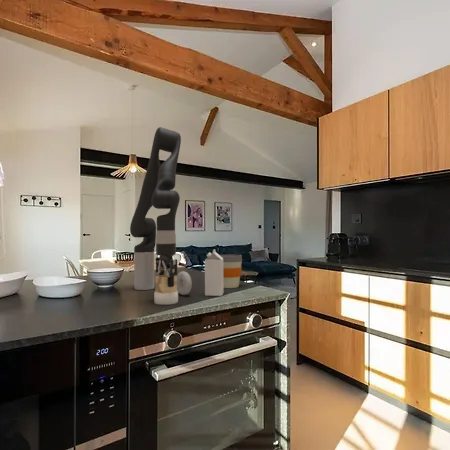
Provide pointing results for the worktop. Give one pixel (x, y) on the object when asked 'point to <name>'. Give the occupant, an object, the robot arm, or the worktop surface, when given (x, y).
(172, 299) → the pedestal
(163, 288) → the maple cube
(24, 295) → the worktop surface
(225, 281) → the reusable coffee cup
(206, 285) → the milk carton
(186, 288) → the donut
